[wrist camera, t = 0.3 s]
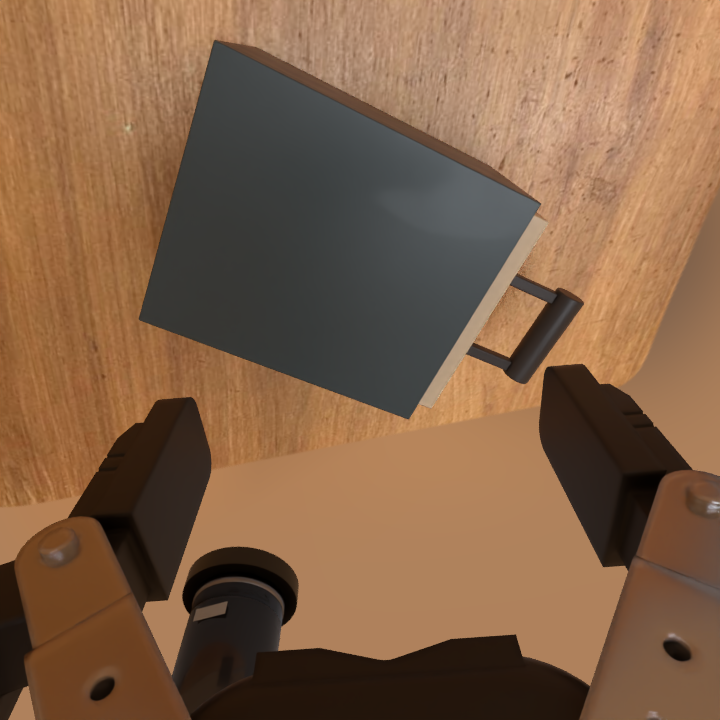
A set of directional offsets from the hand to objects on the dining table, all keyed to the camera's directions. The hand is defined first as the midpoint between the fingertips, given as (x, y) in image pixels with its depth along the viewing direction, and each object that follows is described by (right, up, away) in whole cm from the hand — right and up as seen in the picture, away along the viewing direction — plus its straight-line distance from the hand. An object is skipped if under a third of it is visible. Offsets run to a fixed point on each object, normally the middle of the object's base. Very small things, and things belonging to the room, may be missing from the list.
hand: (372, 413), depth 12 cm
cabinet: (-2, +10, +20) cm, 23 cm away
